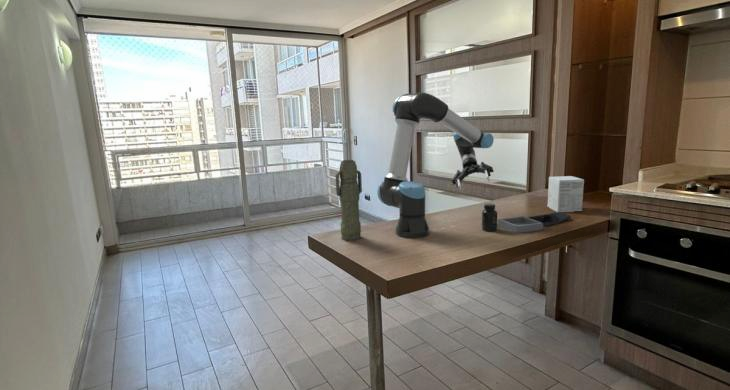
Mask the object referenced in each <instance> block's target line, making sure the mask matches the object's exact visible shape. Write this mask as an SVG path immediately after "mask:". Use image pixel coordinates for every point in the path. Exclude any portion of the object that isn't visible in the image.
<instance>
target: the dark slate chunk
mask: <svg viewBox="0 0 730 390" xmlns="http://www.w3.org/2000/svg"><path fill="white" fill-rule="evenodd" d="M527 218H530V219H533V220H536V221H538V222H541V223H543V227H545V228H546V227H551V226H554V225H558V224H559V223H563V222H566V221H568V220H570V219H571V218H572V216H571V215H569V214H567V213H566V212H552V213H547V214H539V215H534V216H527Z"/></svg>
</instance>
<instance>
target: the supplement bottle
mask: <svg viewBox="0 0 730 390" xmlns="http://www.w3.org/2000/svg"><path fill="white" fill-rule="evenodd" d="M483 208H484V209H483V210H482V211H481V230H482V231H483V232H496V231H497V230H498V211H497V210H496V204H494V203H485V204H484V205H483Z"/></svg>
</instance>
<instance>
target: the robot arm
mask: <svg viewBox="0 0 730 390" xmlns="http://www.w3.org/2000/svg"><path fill="white" fill-rule="evenodd" d="M392 113H393V115H394V118H395V119H394V121H395V122H396V125H397V126H396V132H395V134H394V135H395V136H394V142H393V147H392V152H391V157H390V162H389V168H388V173H387V174H386V175H385V176H384V179H383V181H382V182H381V183H380V184H378V187H377V191H376V192H377V197H378V200H379V201H380V202H381V203H382V204H384V205H386V206H389V207H394V208H397V209H399V218H398V221H397V224H396V228H395V234H396V236H398V237H401V238H406V239H407V238H408V239H419V238H424V237H426V236H429V234H430V227H429V225H428V221H427V219H426V188H425V185H424V184H423V183H421V182H417V181H409V179H408V178H407V174H408V173H407V172H408V169H409V163H410V157H411V152H412V146H413V142H414V141H413V140H414V134H415V129H416V127H418V126H419V125H420V121H421V119H423V120H424V119H425V120H426V119H427V120H429V121H432V122H434V123H439V124H441V125H443V126H444V127H445V128H447V129H449V130H450V131H451V132H453V133H452V137H453V141H454V143H455V145H456V148H457V149H458V154H459V156H460V158H461V164H462V170H459V169H457V170H456V173H455V175H454V176H453V178H452V179H451V182H452V185H453V186H455V185H456V187H458V189H459V191H463V190H462V181H463V180H464V179H465V178H467V177H468V176H469V175H472V174H475V173H476V174H477V173H478V174H479V173H480V174H485V177H486V179H487V182H488V183H489V182H491V181H490V177H491V176H492V174H491V173H494V167H493V166H491V165H488V164H486V163H484V161H481V162H480V164H479V163H478V160H477V157H476V152H475V149H489V148H491V147H492V146H493V144H494V136H493V134H492V133H489V132H483V131H481V129H478V128H477V127H476V126H474V125H473V124H471V123H470V122H469V121H467V120H466V119H465V118H463V117H462V116H460V115H459V114H457V113H456V112H454V111H453V110H452V109H450V108H449V105H448V104H447V103H446V102H444V101H443V100H441V99H440V98H438V97H436V96H435V95H433V94H430V93H427V92H415V93H413V92H412V93H405V94H401V95H399V96H398V97H396V98H395V100H394V102H393V104H392ZM474 148H475V149H474Z"/></svg>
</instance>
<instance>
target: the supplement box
mask: <svg viewBox="0 0 730 390" xmlns="http://www.w3.org/2000/svg"><path fill="white" fill-rule="evenodd" d="M584 185H585V179H583V178H580V177H576V176H574V175H573V176H572V175H566V176H565V175H564V176H561V175H560V176H557V175H556V176H548V191H547V192H548V193H547V208H548V207H549V209H551V211H552V210H553V211H554V212H555V213H557V212H562V213H575V212H574V211H583V200H584Z"/></svg>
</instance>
